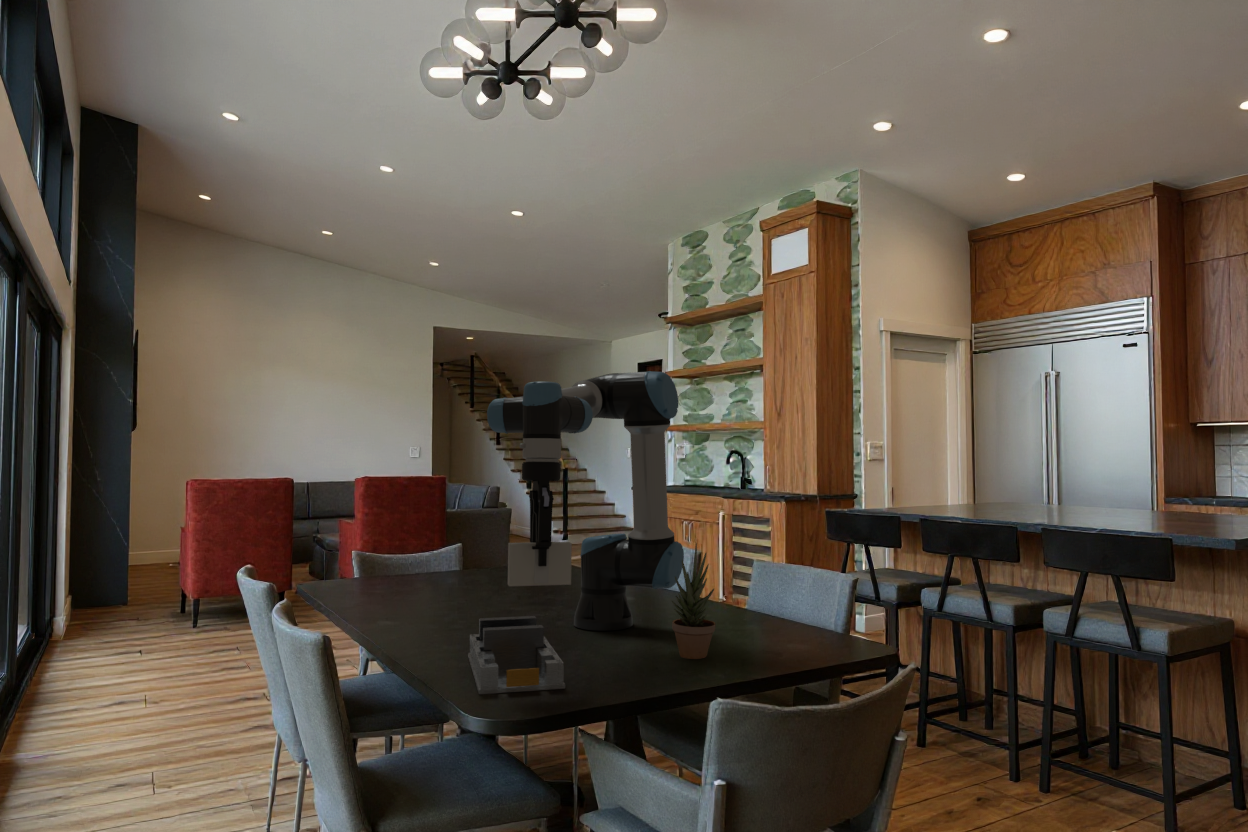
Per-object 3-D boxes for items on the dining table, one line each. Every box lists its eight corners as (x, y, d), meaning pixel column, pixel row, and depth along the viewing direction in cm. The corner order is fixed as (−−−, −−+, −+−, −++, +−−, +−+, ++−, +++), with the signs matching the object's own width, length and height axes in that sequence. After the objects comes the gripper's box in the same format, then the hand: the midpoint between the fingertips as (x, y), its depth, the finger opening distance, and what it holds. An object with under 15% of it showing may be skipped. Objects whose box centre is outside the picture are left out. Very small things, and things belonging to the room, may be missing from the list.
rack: (468, 656, 181) (468, 615, 181) (541, 652, 185) (541, 612, 185) (479, 695, 152) (479, 646, 152) (565, 689, 156) (565, 641, 156)
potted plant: (720, 660, 178) (720, 544, 179) (677, 662, 177) (677, 545, 178) (708, 649, 188) (708, 539, 189) (667, 650, 186) (667, 540, 188)
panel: (507, 584, 161) (508, 542, 162) (568, 582, 164) (568, 541, 165) (509, 586, 159) (510, 544, 159) (571, 584, 162) (571, 543, 162)
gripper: (516, 460, 169) (514, 577, 168) (528, 460, 154) (526, 588, 153) (552, 460, 171) (551, 576, 170) (568, 460, 156) (566, 587, 155)
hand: (539, 581), depth 162 cm, fingers closed on panel, 3 cm apart
